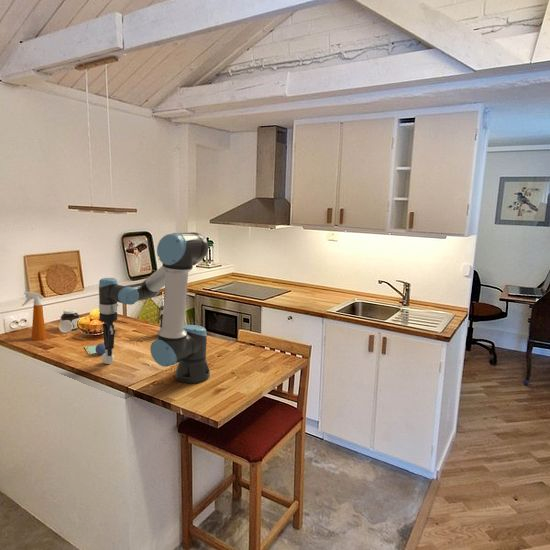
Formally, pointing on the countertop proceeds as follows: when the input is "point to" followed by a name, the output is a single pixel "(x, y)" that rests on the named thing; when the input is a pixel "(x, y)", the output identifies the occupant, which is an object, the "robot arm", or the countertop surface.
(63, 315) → the spread jar
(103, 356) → the cue ball
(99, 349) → the object ball
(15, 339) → the countertop surface
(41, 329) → the spray bottle
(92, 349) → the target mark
